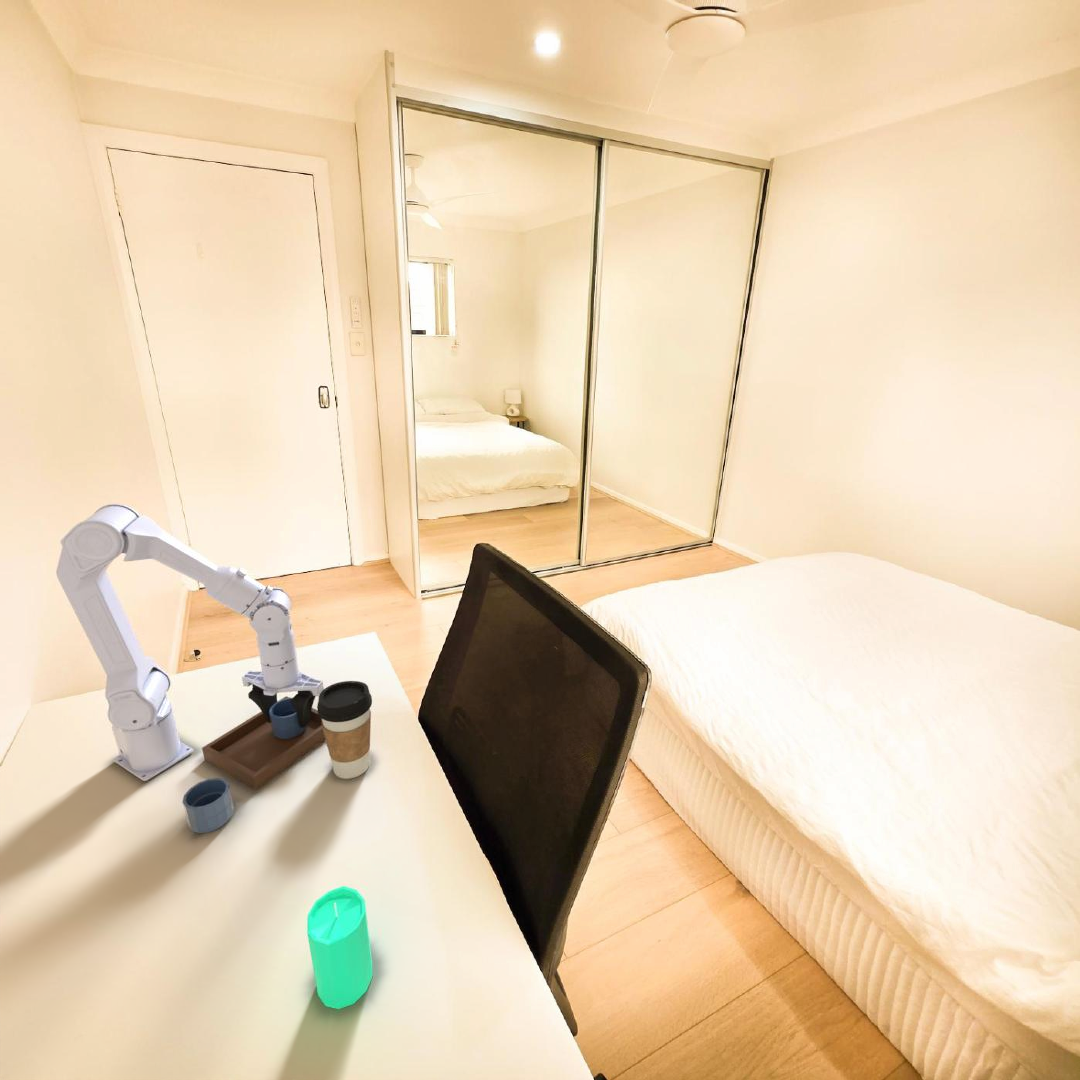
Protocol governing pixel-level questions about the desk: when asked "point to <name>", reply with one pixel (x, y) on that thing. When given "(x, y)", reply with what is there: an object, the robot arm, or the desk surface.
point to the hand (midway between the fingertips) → (288, 721)
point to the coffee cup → (347, 726)
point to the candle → (340, 947)
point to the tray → (261, 749)
